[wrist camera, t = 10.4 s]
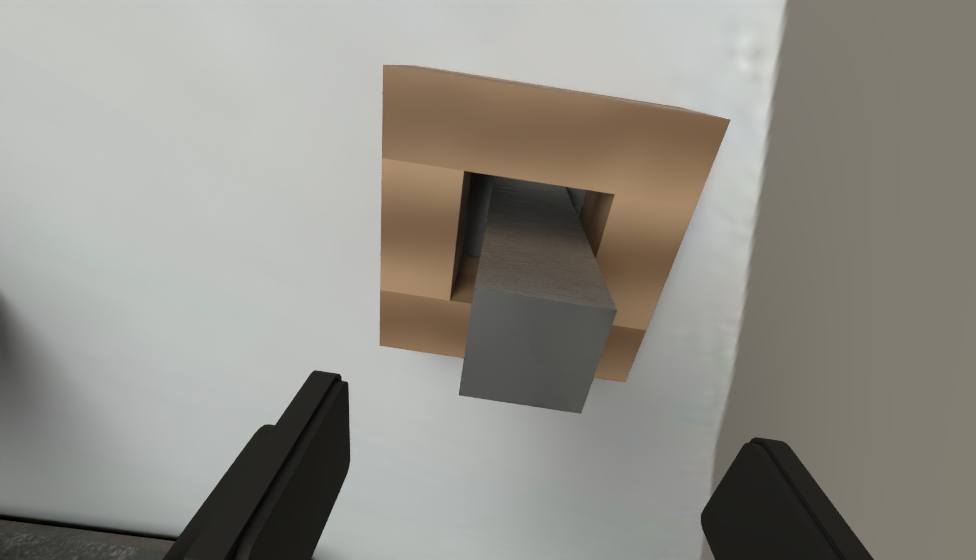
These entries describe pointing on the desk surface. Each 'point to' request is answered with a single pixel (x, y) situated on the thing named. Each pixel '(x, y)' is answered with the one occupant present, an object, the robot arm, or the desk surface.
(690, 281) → the desk surface
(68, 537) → the radio
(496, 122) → the block
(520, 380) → the grey brushed prism
